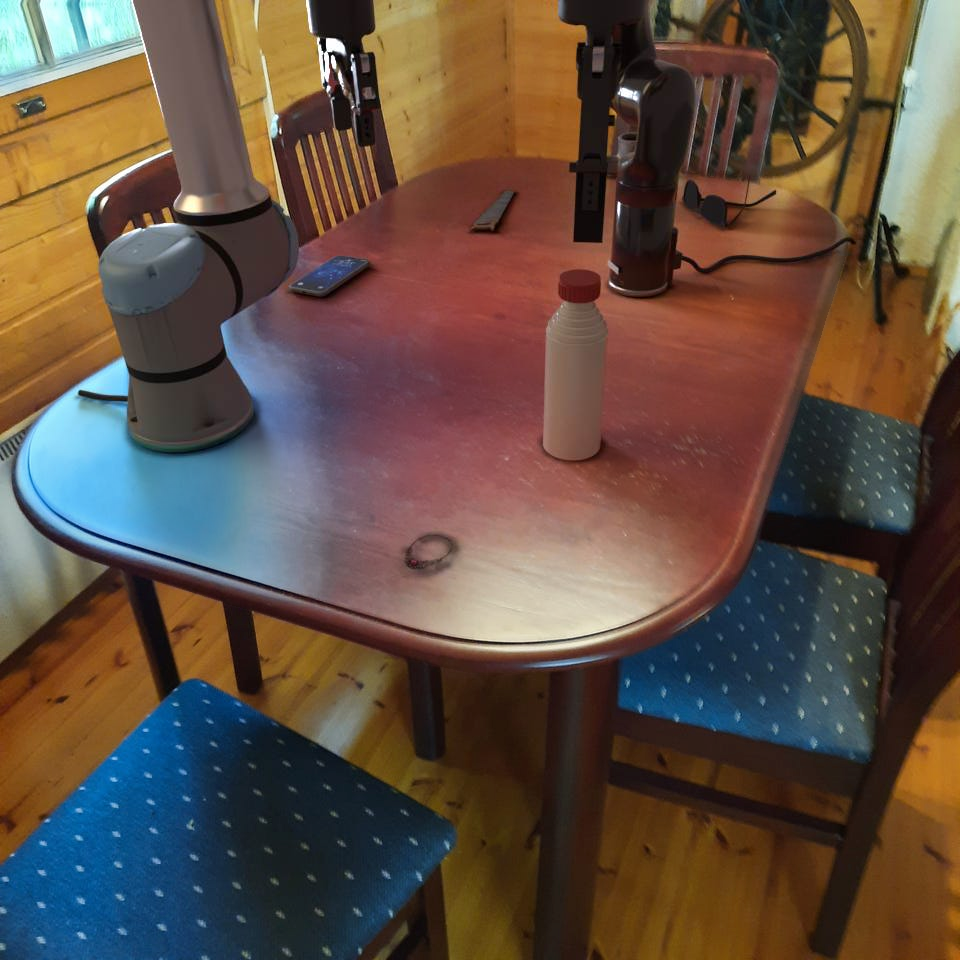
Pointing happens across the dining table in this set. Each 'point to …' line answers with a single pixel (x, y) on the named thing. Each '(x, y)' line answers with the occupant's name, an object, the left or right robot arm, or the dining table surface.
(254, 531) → the dining table surface
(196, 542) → the dining table surface
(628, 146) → the pipe
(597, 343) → the bottle
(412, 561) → the ring
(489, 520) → the dining table surface
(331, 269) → the smartphone
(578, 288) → the cap
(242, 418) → the left robot arm
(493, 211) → the grey flat bar
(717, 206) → the sunglasses
